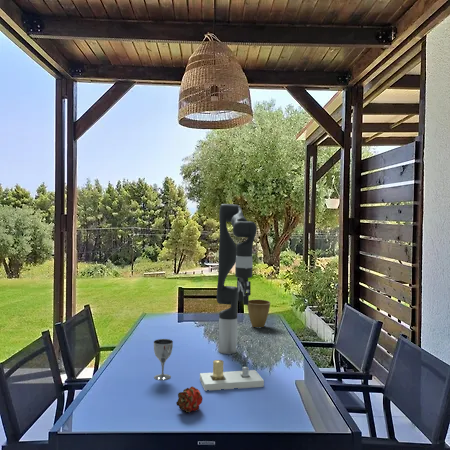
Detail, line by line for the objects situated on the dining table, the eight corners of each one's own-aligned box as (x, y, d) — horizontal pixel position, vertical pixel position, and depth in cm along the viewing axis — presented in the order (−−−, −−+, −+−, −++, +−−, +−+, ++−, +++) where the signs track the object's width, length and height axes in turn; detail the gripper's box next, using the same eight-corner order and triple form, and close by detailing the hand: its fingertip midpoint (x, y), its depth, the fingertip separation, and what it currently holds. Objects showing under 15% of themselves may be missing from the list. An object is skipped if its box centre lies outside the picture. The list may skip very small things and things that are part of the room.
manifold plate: (199, 379, 171) (199, 373, 171) (255, 375, 176) (255, 370, 176) (204, 390, 159) (204, 384, 159) (263, 386, 165) (263, 380, 165)
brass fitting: (211, 382, 168) (212, 360, 168) (221, 381, 169) (222, 359, 169) (213, 386, 164) (214, 363, 164) (224, 385, 165) (224, 362, 165)
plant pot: (242, 325, 266) (242, 300, 266) (262, 323, 272) (262, 299, 272) (253, 330, 252) (254, 304, 252) (274, 328, 259) (274, 303, 259)
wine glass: (153, 381, 168) (154, 344, 168) (152, 374, 175) (152, 339, 175) (173, 379, 170) (174, 343, 170) (170, 373, 177) (171, 338, 177)
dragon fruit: (182, 423, 136) (191, 412, 148) (203, 409, 136) (210, 399, 148) (169, 400, 138) (178, 391, 150) (189, 386, 138) (197, 378, 149)
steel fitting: (241, 381, 170) (241, 366, 170) (247, 380, 171) (247, 366, 171) (243, 383, 168) (243, 368, 168) (249, 383, 168) (249, 368, 168)
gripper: (231, 264, 188) (231, 300, 188) (239, 268, 174) (239, 306, 174) (247, 264, 190) (246, 299, 190) (256, 268, 176) (256, 305, 176)
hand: (243, 302), depth 182 cm, fingers open, 8 cm apart
